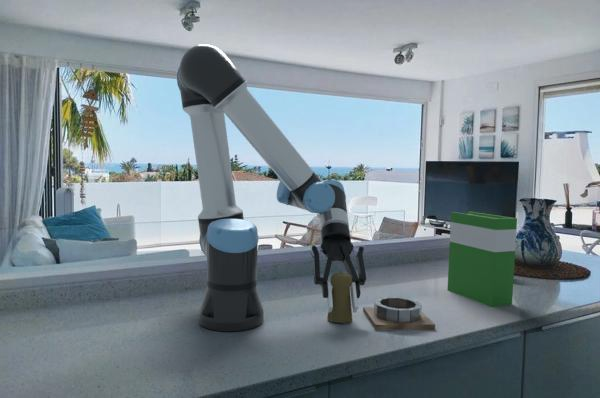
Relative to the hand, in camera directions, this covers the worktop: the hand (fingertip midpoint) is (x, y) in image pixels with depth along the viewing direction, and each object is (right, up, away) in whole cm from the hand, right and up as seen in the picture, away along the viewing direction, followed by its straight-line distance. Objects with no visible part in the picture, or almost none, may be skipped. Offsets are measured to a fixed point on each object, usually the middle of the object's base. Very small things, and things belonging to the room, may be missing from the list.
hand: (343, 309), depth 107 cm
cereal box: (+42, -3, +27) cm, 50 cm away
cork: (0, -3, +4) cm, 5 cm away
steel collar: (+14, -3, +5) cm, 15 cm away
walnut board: (+14, -4, +5) cm, 15 cm away
